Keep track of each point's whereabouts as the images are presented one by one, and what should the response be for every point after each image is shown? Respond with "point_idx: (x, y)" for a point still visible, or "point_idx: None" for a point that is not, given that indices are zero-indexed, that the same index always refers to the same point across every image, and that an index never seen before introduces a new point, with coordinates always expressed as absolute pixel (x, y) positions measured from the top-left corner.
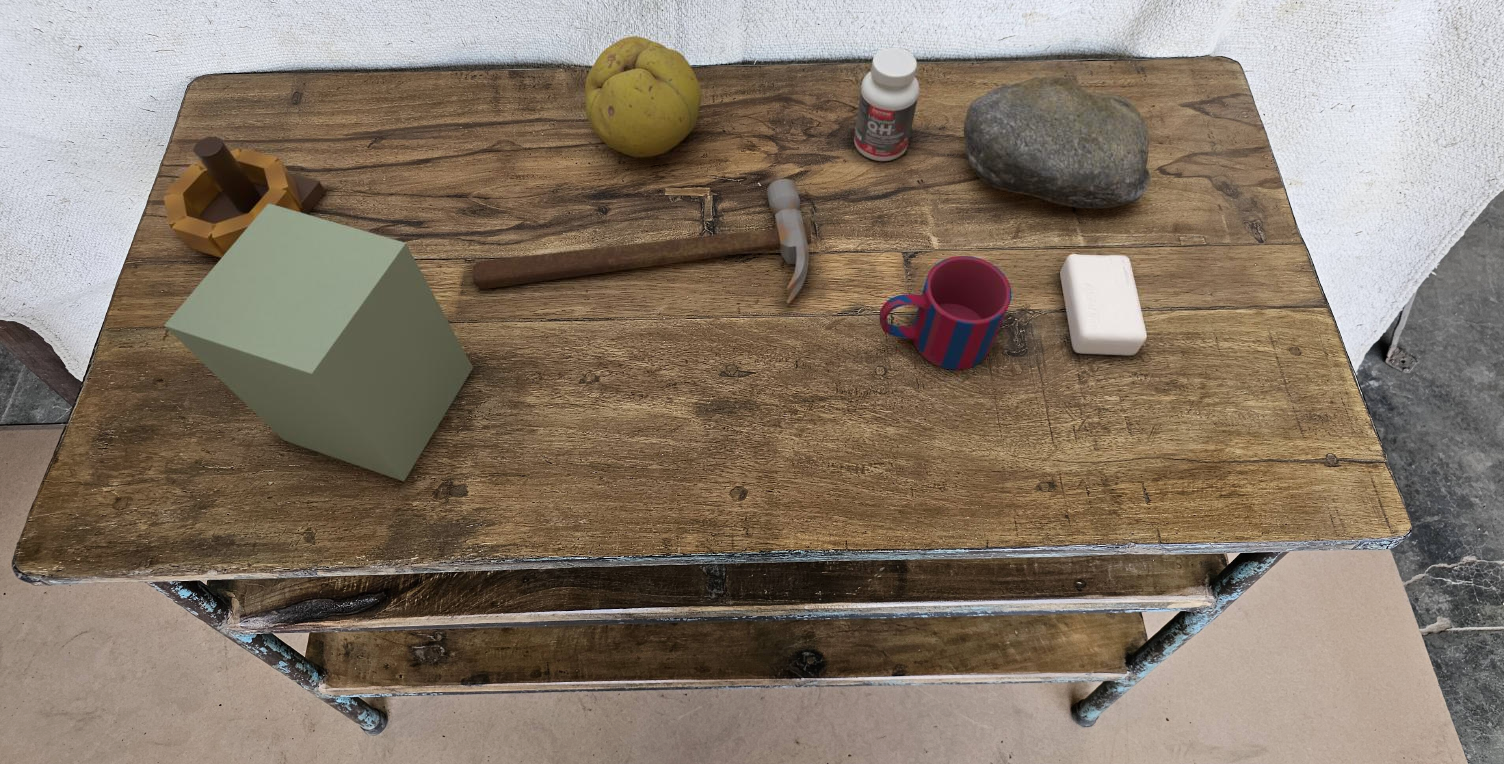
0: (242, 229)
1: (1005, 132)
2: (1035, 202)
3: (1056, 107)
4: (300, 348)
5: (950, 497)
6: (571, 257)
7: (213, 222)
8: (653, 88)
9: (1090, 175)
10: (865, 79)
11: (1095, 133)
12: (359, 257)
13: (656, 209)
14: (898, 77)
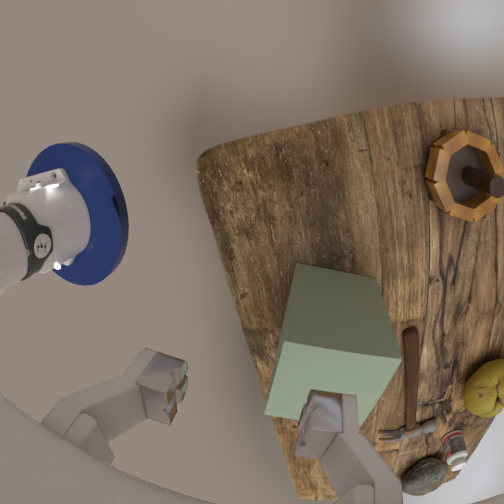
0: (442, 203)
1: (423, 480)
2: (411, 466)
3: (423, 491)
4: (279, 407)
5: (299, 460)
6: (413, 373)
7: (452, 155)
8: (481, 413)
9: (404, 488)
10: (462, 454)
11: (413, 493)
12: None
13: (441, 385)
14: (451, 469)
